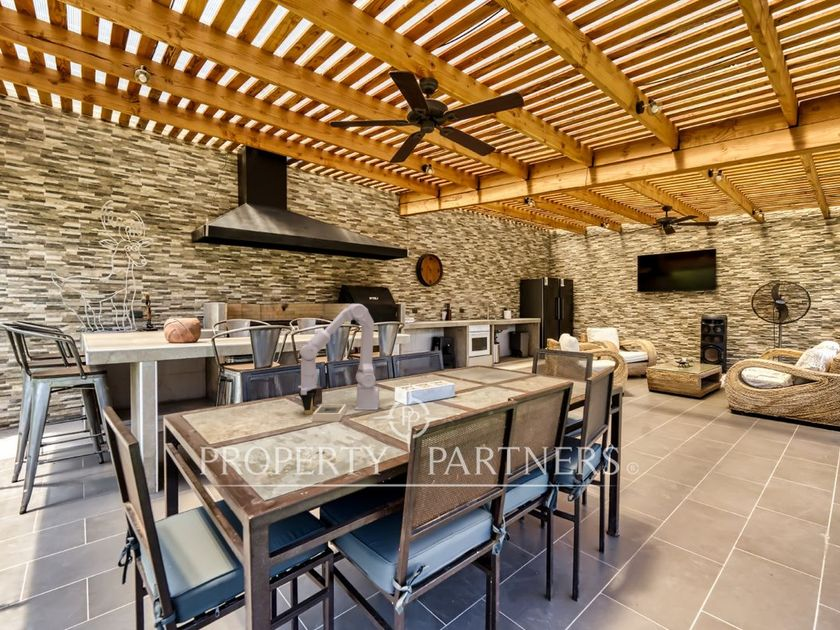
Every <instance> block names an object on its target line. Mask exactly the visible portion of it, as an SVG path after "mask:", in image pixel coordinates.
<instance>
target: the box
mask: <svg viewBox="0 0 840 630" xmlns="http://www.w3.org/2000/svg"><path fill="white" fill-rule="evenodd" d="M315 389H318V391H317V393H316V396H315V400H314V405H313V407H315V406H317V405H321V404H323V387H322V386H318V385H316V388H315Z"/></svg>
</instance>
